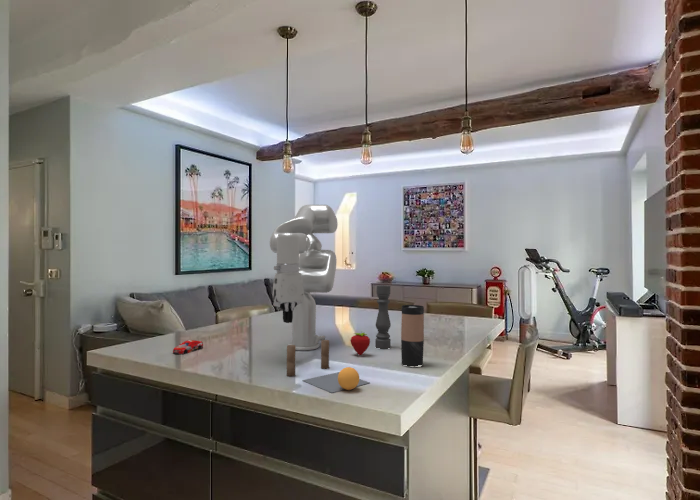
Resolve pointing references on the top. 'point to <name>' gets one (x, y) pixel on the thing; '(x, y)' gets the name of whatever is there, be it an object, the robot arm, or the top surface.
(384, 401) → the top surface
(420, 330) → the travel mug
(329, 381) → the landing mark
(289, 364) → the post
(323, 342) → the post
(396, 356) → the top surface
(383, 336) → the candle holder
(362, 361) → the top surface
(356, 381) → the ball
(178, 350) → the race car
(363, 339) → the strawberry
